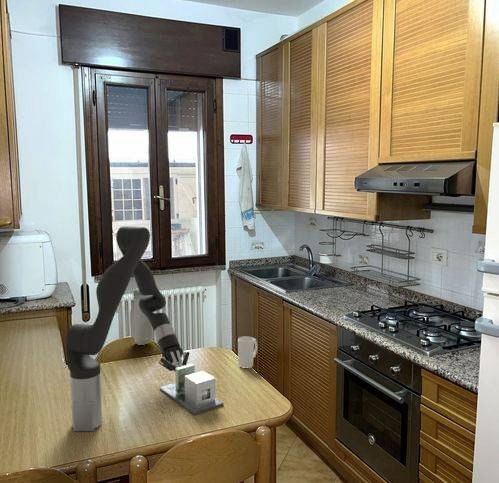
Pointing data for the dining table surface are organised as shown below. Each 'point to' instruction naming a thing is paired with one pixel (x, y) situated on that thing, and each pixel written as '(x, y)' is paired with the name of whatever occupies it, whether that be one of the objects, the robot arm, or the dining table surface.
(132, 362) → the dining table surface
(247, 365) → the mug
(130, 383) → the dining table surface
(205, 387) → the bearing block
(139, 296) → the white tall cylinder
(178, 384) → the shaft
